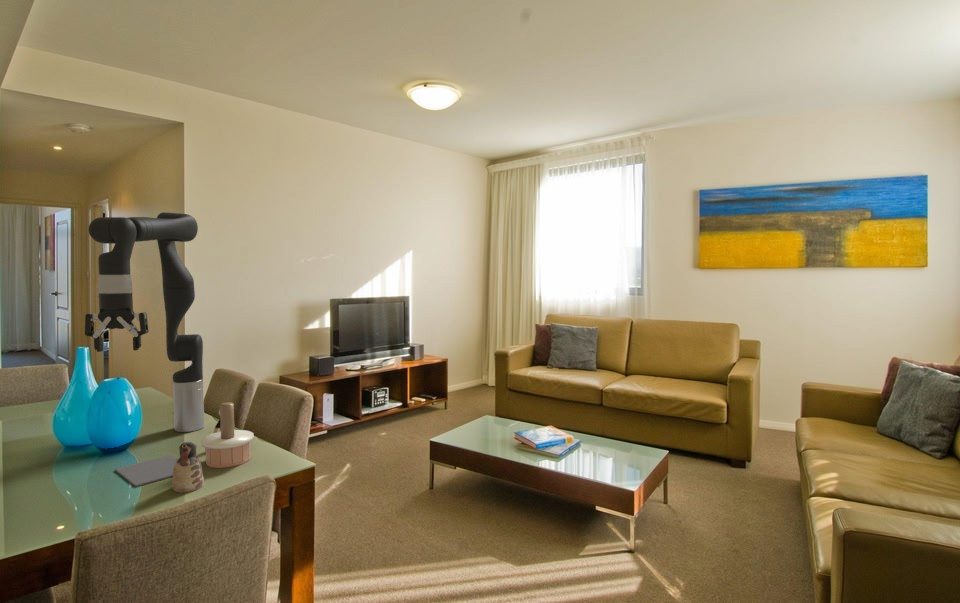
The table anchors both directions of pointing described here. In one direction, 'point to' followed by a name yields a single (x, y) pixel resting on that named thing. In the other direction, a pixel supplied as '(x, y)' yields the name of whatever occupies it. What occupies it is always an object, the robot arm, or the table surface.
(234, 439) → the cover
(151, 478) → the mat
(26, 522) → the table surface
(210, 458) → the bowl
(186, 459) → the figurine
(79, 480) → the table surface
